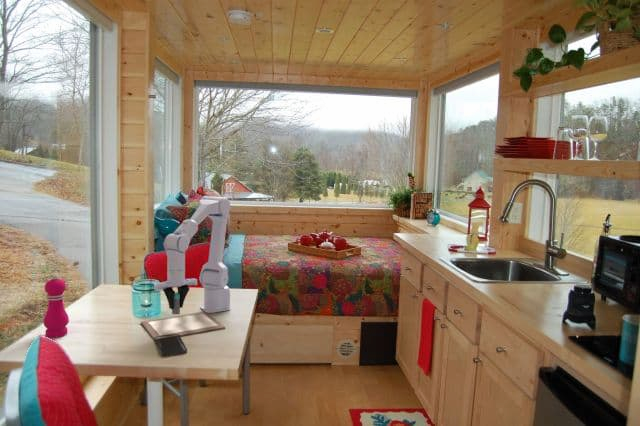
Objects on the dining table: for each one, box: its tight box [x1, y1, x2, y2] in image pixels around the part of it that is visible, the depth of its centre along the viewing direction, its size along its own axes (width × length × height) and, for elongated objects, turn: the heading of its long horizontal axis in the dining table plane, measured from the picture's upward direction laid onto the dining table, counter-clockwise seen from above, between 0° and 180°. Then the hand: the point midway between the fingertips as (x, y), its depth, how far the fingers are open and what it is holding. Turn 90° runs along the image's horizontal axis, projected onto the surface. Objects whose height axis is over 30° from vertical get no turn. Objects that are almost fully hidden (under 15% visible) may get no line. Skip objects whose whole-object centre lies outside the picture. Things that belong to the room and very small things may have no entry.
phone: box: [154, 334, 188, 358], centre depth 153 cm, size 8×1×15 cm
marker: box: [171, 291, 181, 315], centre depth 167 cm, size 3×3×7 cm
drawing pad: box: [140, 311, 226, 341], centre depth 171 cm, size 24×18×1 cm
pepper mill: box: [43, 274, 70, 339], centre depth 157 cm, size 7×7×20 cm
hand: (175, 307), depth 167 cm, fingers closed on marker, 3 cm apart
